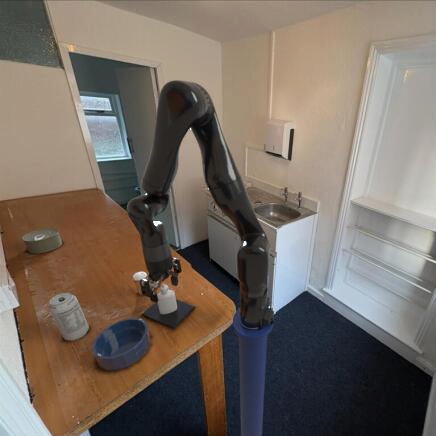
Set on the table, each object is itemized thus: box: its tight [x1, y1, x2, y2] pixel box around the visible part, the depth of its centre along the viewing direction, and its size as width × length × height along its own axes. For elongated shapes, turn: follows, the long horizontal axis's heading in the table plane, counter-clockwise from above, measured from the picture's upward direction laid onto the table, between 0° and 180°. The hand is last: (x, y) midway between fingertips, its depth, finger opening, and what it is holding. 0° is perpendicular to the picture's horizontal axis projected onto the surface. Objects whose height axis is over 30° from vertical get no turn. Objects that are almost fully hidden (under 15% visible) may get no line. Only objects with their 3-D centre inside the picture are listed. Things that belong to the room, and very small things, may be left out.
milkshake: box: [132, 271, 148, 296], centre depth 89 cm, size 4×5×10 cm
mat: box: [142, 299, 196, 330], centre depth 84 cm, size 14×10×1 cm
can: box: [21, 228, 63, 254], centre depth 111 cm, size 12×12×7 cm
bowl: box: [91, 317, 151, 371], centre depth 69 cm, size 13×13×6 cm
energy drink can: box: [48, 292, 90, 341], centre depth 70 cm, size 6×6×15 cm
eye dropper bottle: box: [157, 283, 177, 314], centre depth 81 cm, size 4×6×12 cm
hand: (165, 292), depth 80 cm, fingers open, 8 cm apart
